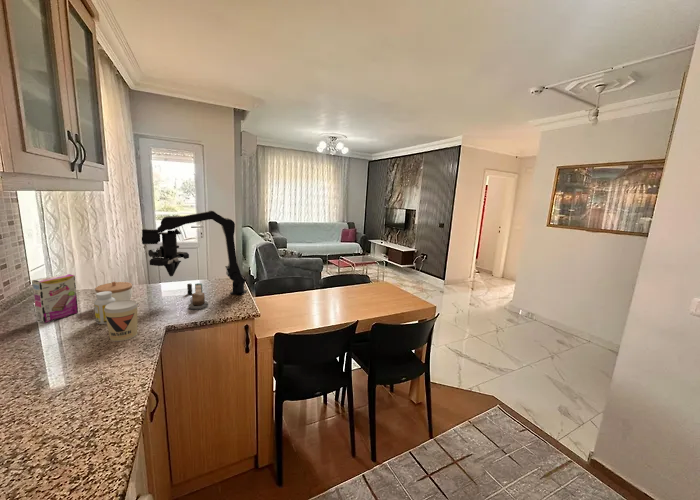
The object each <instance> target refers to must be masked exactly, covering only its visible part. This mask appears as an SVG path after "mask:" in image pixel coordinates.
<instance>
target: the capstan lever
mask: <svg viewBox="0 0 700 500" xmlns="http://www.w3.org/2000/svg"><path fill="white" fill-rule="evenodd" d="M191 296H192V297H191V301H192V302H191V303H192V304H193V305H196V306H197V305H203V304H204V303H205V301H206V299H205V292H203V283H199V282H198V283H195V285H194V293H192V295H191Z"/></svg>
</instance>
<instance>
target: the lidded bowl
mask: <svg viewBox="0 0 700 500" xmlns="http://www.w3.org/2000/svg"><path fill="white" fill-rule="evenodd" d="M94 289H95V290H94V291H95V295H96V294H97V293H99V292H104V291H111V292H112V296H111V297H113V298H115V300H116V302H117V301H123V300H131V299H132V295H133V284H132V283H131V282H127V281H111V282H108V283H103V284H100V285H98V286H96V287H95V288H94Z"/></svg>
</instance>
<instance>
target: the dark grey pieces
mask: <svg viewBox="0 0 700 500" xmlns="http://www.w3.org/2000/svg"><path fill="white" fill-rule="evenodd" d="M186 286H187V290H186V291H187V294H188V296H192V294H193V285H192V283H187V285H186ZM208 307H209V302H208V301H206V300H205V303H204V304H203V305H197V306H196V305H193V304H192V302H190V303H189V304H188V309H189V310H192V311H199V310H204V309H207V308H208Z"/></svg>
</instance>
